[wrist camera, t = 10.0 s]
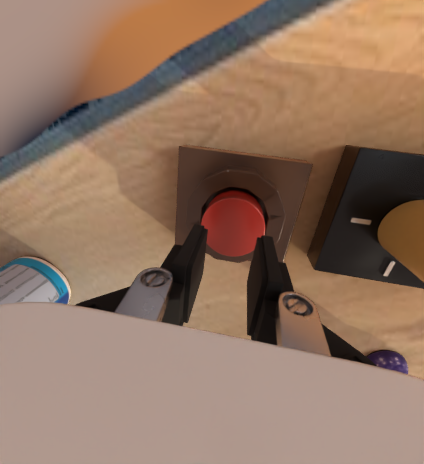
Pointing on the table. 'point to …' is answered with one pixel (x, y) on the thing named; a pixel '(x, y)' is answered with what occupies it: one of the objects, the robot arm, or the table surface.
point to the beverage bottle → (32, 282)
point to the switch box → (240, 179)
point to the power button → (233, 223)
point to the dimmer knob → (405, 235)
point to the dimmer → (366, 214)
